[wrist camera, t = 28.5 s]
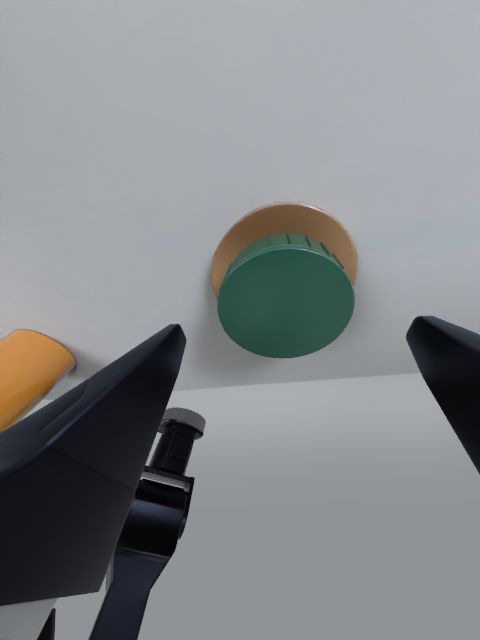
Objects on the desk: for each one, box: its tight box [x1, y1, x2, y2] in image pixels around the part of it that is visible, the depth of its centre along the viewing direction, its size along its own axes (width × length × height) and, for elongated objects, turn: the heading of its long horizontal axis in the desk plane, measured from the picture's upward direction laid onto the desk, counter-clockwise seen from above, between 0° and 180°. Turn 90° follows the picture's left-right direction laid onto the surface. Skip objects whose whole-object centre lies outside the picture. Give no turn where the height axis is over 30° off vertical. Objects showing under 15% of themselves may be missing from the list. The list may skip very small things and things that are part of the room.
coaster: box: [211, 202, 357, 301], centre depth 11 cm, size 8×8×1 cm
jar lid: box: [218, 232, 354, 358], centre depth 10 cm, size 7×6×2 cm
